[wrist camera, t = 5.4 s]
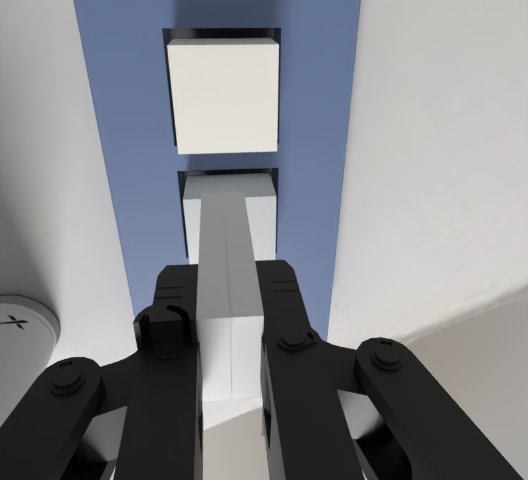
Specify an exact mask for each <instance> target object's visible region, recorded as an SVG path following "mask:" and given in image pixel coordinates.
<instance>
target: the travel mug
mask: <svg viewBox="0 0 528 480" xmlns="http://www.w3.org/2000/svg"><path fill="white" fill-rule="evenodd" d="M59 337H60V327H59V323H58V321H57V319H56V317H55V316H54V315H53V314H52V312H51V311H50V310H48V309H47V308H46V307H45V306H43V305H42V304H40V303H39V302H36V301H34V300H32V299H29V298H25V297H21V296H14V295H8V296H0V427H1V426H2V424H3V423H4V421H5V420H6V419H7V417H8V416H9V415H10V413H11V412H12V411H13V409H14V408H15V407H16V405H17V404H18V403H19V401H20V400H21V399H22V397H23V396H24V395H25V393H26V392H27V390H28V389H29V388H30V386H31V385H32V384H33V382H34V381H35V380H36V378H37V377H38V376H39V375H40V374H41V373H42V372H43V371H44V370H45V368H46V366H47V364H48V362H49V360H50V357H51V355H52V353H53V351H54V349H55V347H56V344H57V342H58V340H59Z"/></svg>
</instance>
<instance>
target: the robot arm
mask: <svg viewBox="0 0 528 480" xmlns="http://www.w3.org/2000/svg"><path fill="white" fill-rule="evenodd" d="M133 325H134V331H135V337H136V343H137V348H138V350H137V351H136V352H135V353H134V354H132V355H131V356H129V357H127V358H125V359H123V360H120V361H118V362H115V363H112V364H108V365H105V366H102V367H100V366H99V365H98V364H97V363H96V362H95V361H94V360H92V359H89V358H85V357H71V358H67V359H64V360H61V361H58V362H56V363H54V364H53V365H51V366H49V367H47V368H46V369H45V370H44V371H43V372H42V373H41V374H40V375H39V376H38V377H37V378H36V380H35V381H34V382H33V384H32V385H31V386H30V388H29V389H28V390H27V392H26V393H25V395H24V396H23V397H22V399H21V400H20V401H19V403H18V404H17V405H16V407H15V408H14V409H13V411H12V412H11V413H10V415H9V416H8V417H7V419H6V420H5V421H4V423H3V424H2V426H1V427H0V480H110V477H111V475H112V473H113V471H114V468H115V466H116V468H115V473H114V479H113V480H203V411H202V402H204V401H218V400H231V399H245V398H259V397H261V391H262V399H263V414H262V436H265V442H266V451H267V460H268V468H269V476H270V480H365V479H364V476H363V473H362V470H363V472H364V474H365V476H366V478H367V479H368V480H523V478H522V477H521V476H520V475H519V474H518V473H517V472H516V471H515V469H514V468H513V467H512V466H511V465H510V464H509V462H508V461H507V460H506V459H505V458H504V457H503V456H502V455H501V453H500V452H499V451H498V450H497V449H496V448H495V446H494V445H493V444H492V443H491V442H490V441H489V440H488V438H487V437H486V436H485V435H484V434H483V433H482V432H481V431H480V429H479V428H478V427H477V426H476V425H475V424H474V423H473V421H472V420H471V419H470V418H469V417H468V416H467V415H466V413H465V412H464V411H463V410H462V409H461V408H460V407H459V405H458V404H457V403H456V402H455V401H454V400H453V399H452V398H451V396H450V395H449V394H448V393H447V392H446V391H445V389H444V388H443V387H442V386H441V385H440V384H439V383H438V381H437V380H436V379H435V378H434V377H433V376H432V375H431V373H430V372H429V371H428V370H427V369H426V368H425V367H424V365H423V364H422V363H421V362H420V361H419V360H418V359H417V357H416V356H415V355H414V354H413V353H412V352H411V351H410V350H409V349H408V348H407V347H405V346H404V345H403V344H401V343H399V342H397V341H394V340H392V339H387V338H382V337H379V338H370V339H368V340H366V341H364V342H362V343H361V344H360V346H359V347H358V348H357V350H355V349H349V348H344V347H339V346H336V345H332V344H330V343H328V342H326V341H324V340H322V339H321V338H320V336H319V334H318V333H317V332H316V331H315V330H314V329H312V327H311V325H310V322H309V319H308V315H307V312H306V309H305V305H304V302H303V298H302V295H301V292H300V288H299V285H298V282H297V278H296V274H295V271H294V269H293V268H292V267H291V266H290V265H289V264H288V263H287V262H286V261H285V260H259V261H255V257H254V251H253V245H252V239H251V233H250V227H249V220H248V214H247V208H246V202H245V196H244V192H231V193H201V211H200V236H199V260H198V264H185V265H166V266H165V268H164V269H163V270H162V271H161V272H160V273H159V275H158V276H157V281H156V287H155V293H154V300H153V304H152V305H151V306H148V307H146V308H144V309H143V310H142V311H141V312H140V313H139V314H137V316H136V318H135V320H134V322H133Z"/></svg>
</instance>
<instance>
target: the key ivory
mask: <svg viewBox="0 0 528 480" xmlns="http://www.w3.org/2000/svg"><path fill="white" fill-rule="evenodd" d="M167 49H168V59H169V68H170V78H171V88H172V98H173V107H174V117H175V127H176V137H177V147H178V154H205V153H238V152H271V151H277V127H278V66H279V44H278V43H276V42H275V41H274V40H273V39H271V38H176V39H173V40H172V41H171V42H170V43H169V44H168V45H167Z"/></svg>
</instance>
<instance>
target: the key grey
mask: <svg viewBox="0 0 528 480" xmlns="http://www.w3.org/2000/svg"><path fill="white" fill-rule="evenodd" d="M231 192H244V196H245V202H246V208H247V214H248V220H249V227H250V233H251V239H252V245H253V251H254V257H255V261H259V260H275V248H276V193H275V190H274V187H273V183H272V180H271V177H270V173H253V174H224V175H195V176H187V178H186V184H185V190H184V196H183V205H184V215H185V225H186V234H187V244H188V254H189V264H198V260H199V236H200V211H201V193H231Z"/></svg>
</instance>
